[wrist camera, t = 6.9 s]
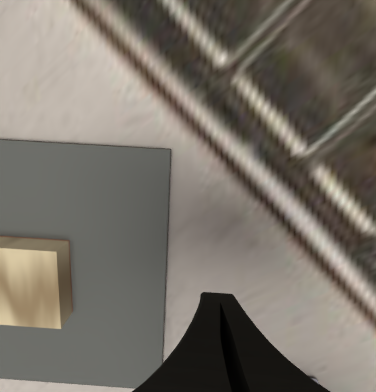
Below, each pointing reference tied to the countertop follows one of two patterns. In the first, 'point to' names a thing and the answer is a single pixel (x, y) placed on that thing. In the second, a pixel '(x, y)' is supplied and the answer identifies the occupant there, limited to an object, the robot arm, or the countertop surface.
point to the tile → (35, 282)
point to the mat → (91, 258)
